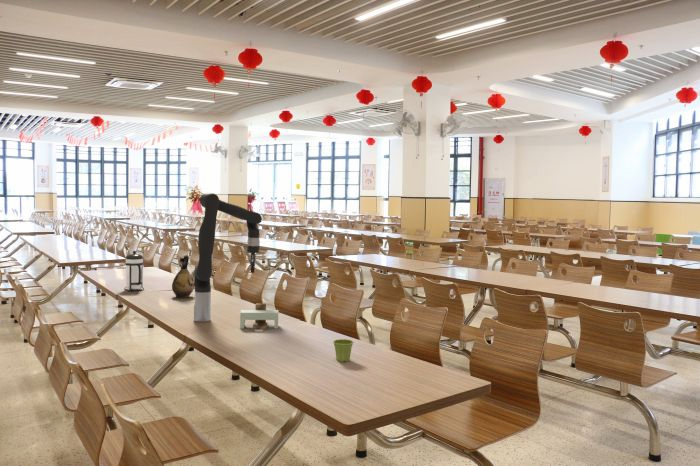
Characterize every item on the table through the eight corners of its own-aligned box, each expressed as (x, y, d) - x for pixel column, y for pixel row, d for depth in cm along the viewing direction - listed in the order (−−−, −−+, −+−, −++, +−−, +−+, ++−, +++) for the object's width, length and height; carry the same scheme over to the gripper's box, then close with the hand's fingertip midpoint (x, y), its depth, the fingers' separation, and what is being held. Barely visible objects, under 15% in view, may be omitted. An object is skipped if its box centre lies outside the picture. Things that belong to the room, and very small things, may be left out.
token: (253, 332, 313) (253, 330, 313) (254, 330, 318) (254, 328, 318) (263, 332, 313) (263, 330, 313) (263, 330, 318) (263, 328, 318)
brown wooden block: (252, 329, 318) (252, 308, 317) (253, 323, 333) (254, 303, 332) (266, 329, 319) (267, 308, 318) (267, 323, 334) (267, 303, 333)
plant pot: (346, 364, 258) (346, 345, 257) (328, 360, 263) (329, 342, 262) (356, 359, 266) (357, 341, 265) (339, 356, 271) (340, 338, 270)
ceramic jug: (190, 299, 403) (191, 257, 401) (168, 298, 403) (169, 256, 401) (197, 295, 420) (197, 254, 418) (176, 294, 420) (176, 253, 418)
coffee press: (118, 291, 426) (118, 251, 424) (130, 288, 442) (130, 249, 440) (140, 292, 423) (140, 252, 421) (151, 289, 439) (151, 250, 437)
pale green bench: (240, 328, 320) (240, 312, 319) (241, 325, 328) (241, 309, 327) (277, 328, 322) (278, 312, 321) (278, 325, 330) (278, 310, 329)
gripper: (247, 243, 360) (246, 271, 361) (246, 245, 347) (245, 273, 348) (259, 244, 361) (258, 271, 362) (259, 246, 348) (258, 274, 349)
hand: (252, 272), depth 355 cm, fingers closed
